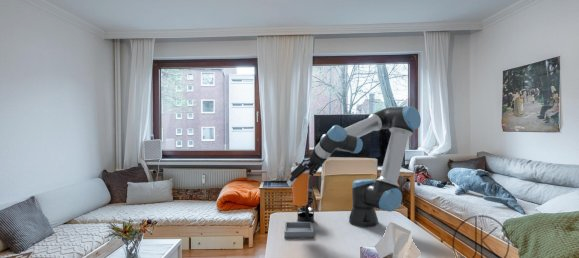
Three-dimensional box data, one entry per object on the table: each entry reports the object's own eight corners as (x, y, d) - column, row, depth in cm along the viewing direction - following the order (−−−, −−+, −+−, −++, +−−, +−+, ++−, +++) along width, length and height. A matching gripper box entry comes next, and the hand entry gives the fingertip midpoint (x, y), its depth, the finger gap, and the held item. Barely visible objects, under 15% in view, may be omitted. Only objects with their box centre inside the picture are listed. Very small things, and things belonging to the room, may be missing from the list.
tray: (311, 227, 153) (311, 221, 153) (313, 238, 139) (313, 231, 139) (285, 227, 153) (284, 221, 153) (284, 238, 139) (284, 231, 139)
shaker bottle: (308, 206, 140) (308, 164, 139) (289, 205, 141) (289, 164, 141) (310, 202, 149) (310, 162, 148) (292, 201, 150) (292, 161, 150)
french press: (316, 223, 159) (316, 180, 158) (298, 224, 157) (298, 181, 157) (311, 216, 170) (311, 176, 170) (295, 217, 169) (295, 177, 168)
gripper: (309, 161, 126) (283, 192, 138) (339, 157, 142) (313, 185, 153) (300, 148, 130) (275, 179, 141) (330, 145, 145) (305, 174, 157)
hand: (295, 183), depth 147 cm, fingers closed on shaker bottle, 9 cm apart
